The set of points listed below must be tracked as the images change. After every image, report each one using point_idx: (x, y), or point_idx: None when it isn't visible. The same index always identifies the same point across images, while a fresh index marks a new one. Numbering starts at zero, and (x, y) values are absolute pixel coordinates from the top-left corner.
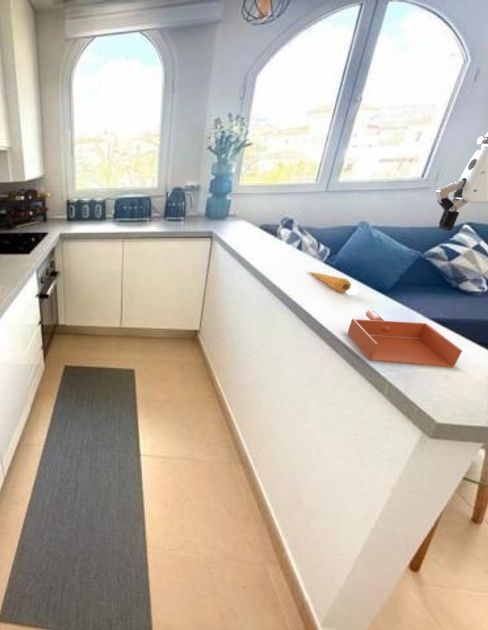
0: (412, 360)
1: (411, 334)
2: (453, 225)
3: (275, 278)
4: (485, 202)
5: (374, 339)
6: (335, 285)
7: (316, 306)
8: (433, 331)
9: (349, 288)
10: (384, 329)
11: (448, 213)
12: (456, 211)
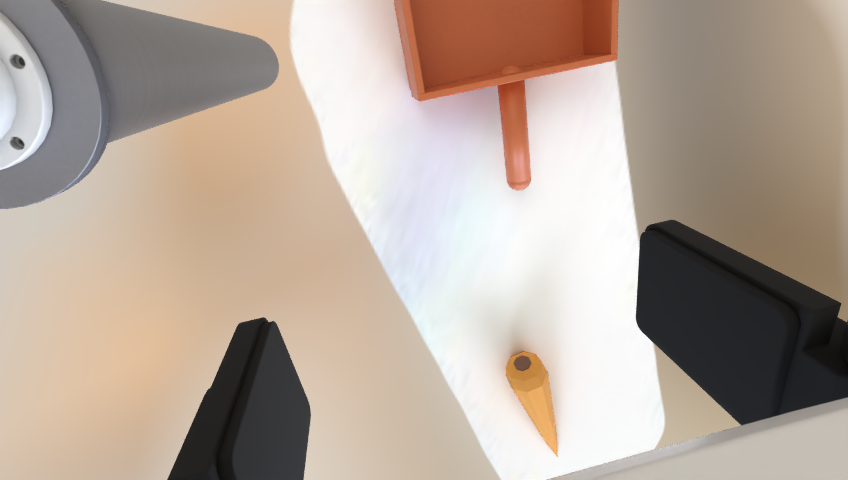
0: None
1: (440, 85)
2: (674, 242)
3: (650, 389)
4: (762, 420)
5: (533, 33)
6: (543, 365)
7: (607, 233)
8: (415, 40)
9: (507, 366)
10: (516, 66)
11: (837, 317)
12: (810, 337)
